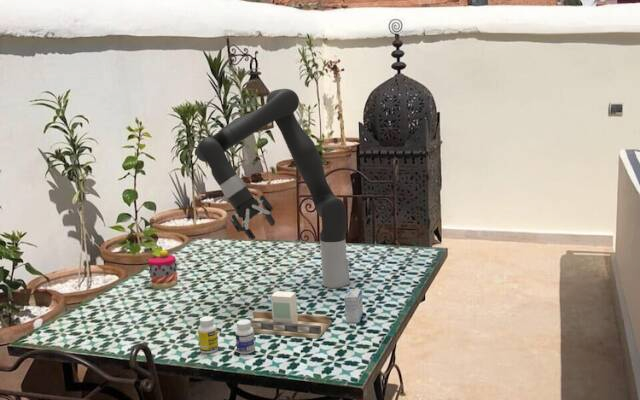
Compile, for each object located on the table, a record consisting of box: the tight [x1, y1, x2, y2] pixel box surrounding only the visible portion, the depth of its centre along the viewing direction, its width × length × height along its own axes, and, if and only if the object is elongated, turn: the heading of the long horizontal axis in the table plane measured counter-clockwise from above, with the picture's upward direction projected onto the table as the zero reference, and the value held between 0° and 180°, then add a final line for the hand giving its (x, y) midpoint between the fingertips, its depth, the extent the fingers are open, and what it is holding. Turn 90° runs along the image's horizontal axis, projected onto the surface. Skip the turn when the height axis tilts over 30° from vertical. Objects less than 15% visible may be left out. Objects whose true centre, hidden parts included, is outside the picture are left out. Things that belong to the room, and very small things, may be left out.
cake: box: [147, 245, 179, 290], centre depth 260 cm, size 10×11×15 cm
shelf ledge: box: [249, 310, 332, 339], centre depth 211 cm, size 26×12×3 cm, turn 70°
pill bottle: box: [235, 318, 256, 355], centre depth 195 cm, size 5×5×9 cm
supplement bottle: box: [197, 315, 219, 354], centre depth 197 cm, size 5×5×10 cm
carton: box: [270, 290, 298, 324], centre depth 210 cm, size 4×6×10 cm
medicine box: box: [344, 288, 364, 324], centre depth 214 cm, size 8×4×9 cm, turn 168°
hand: (263, 232), depth 223 cm, fingers open, 8 cm apart
